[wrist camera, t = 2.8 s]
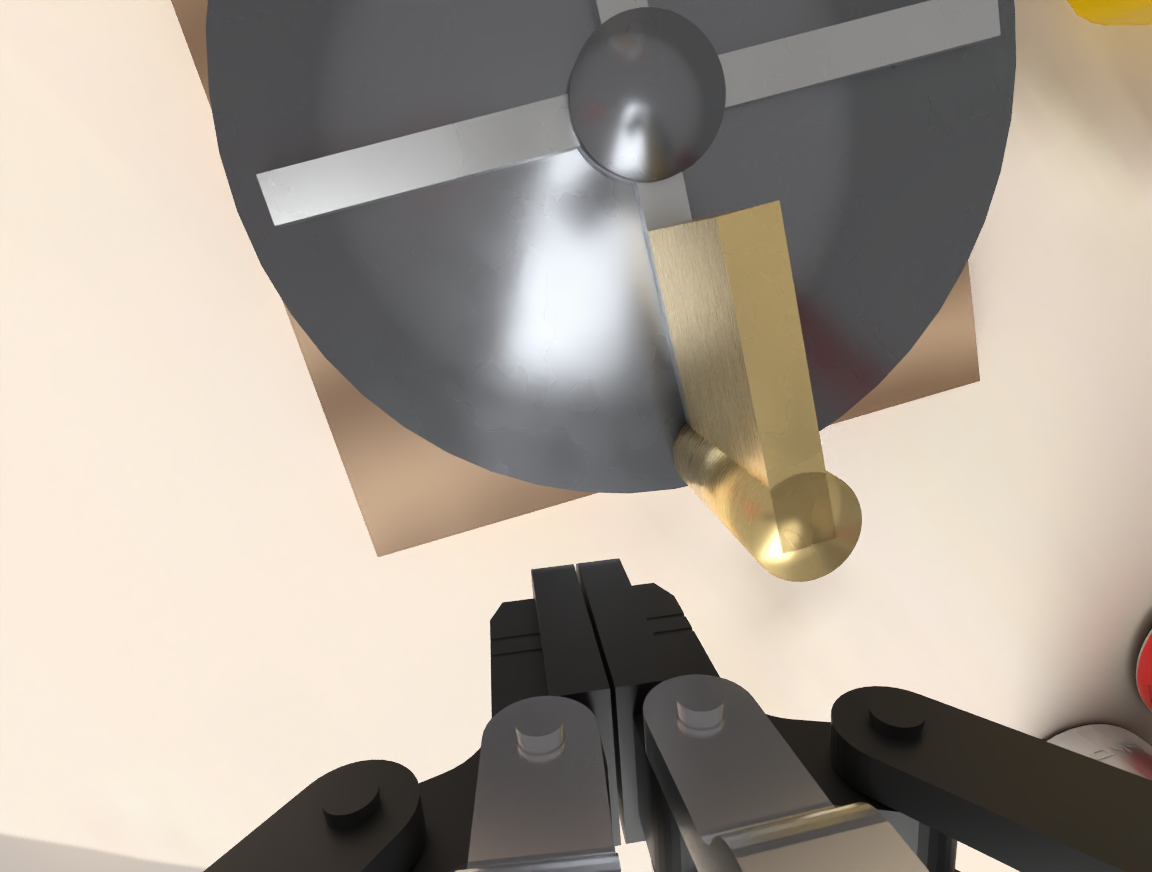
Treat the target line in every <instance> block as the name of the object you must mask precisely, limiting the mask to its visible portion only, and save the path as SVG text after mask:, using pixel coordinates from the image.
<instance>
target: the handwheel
mask: <svg viewBox="0 0 1152 872" xmlns="http://www.w3.org/2000/svg"><path fill="white" fill-rule="evenodd" d="M206 47H207V67H208V87H209V96H210V102H211V107H212V113H213V119H214V124H215V130H216V136H217V141H218V147H219V153H220V156H221V160H222V163H223V166H224V169H225V173H226V176H227V179H228V182H229V186H230V189H231V192H232V195H233V199H234V202H235V205H236V208H237V212H238V214H239V216H240V218H241V220H242V223H243V225H244V227H245V229H246V232H247V234H248V236H249V238H250V241H251V243H252V245H253V247H254V250H255V252H256V254H257V256H258V259H259V261H260V263H261V265H262V267H263V269H264V270H265V272H266V274H267V275H268V277H269V278H270V280H271V282H272V283H273V285H274V287H275V288H276V290H277V292H278V293H279V295H280V297H281V298H282V300H283V302H284V303H285V305H286V307H287V308H288V310H289V312H290V313H291V315H292V316H293V317H294V319H295V320H296V321H297V322H298V324H299V325H300V326H301V328H302V329H303V330H304V331H305V333H306V334H307V335H308V336H309V338H310V339H311V340H312V342H313V343H314V344H315V345H316V347H317V348H318V349H319V351H320V352H321V353H322V354H323V356H324V357H325V358H326V359H327V360H328V361H329V362H330V363H331V364H332V365H333V366H334V367H335V368H336V369H337V370H338V371H339V372H340V373H341V374H342V375H343V376H344V377H345V378H346V379H347V380H348V381H349V382H350V383H351V384H352V385H353V386H354V387H355V388H356V389H357V390H358V391H359V392H360V393H361V394H362V395H363V396H365V397H366V398H367V399H368V400H370V401H371V402H372V403H374V404H375V405H376V406H377V407H379V408H380V409H381V410H383V411H384V412H385V413H386V414H388V415H389V416H390V417H392V418H393V419H394V420H396V421H397V422H398V423H399V424H401V425H402V426H403V427H405V428H407V429H408V430H410V431H412V432H413V433H415V434H417V435H418V436H420V437H422V438H423V439H425V440H427V441H429V442H430V443H432V444H434V445H435V446H437V447H439V448H440V449H442V450H444V451H445V452H447V453H450V454H452V455H454V456H456V457H459V458H461V459H463V460H466V461H468V462H470V463H473V464H475V465H477V466H480V467H482V468H484V469H487V470H489V471H491V472H494V473H498V474H501V475H505V476H508V477H512V478H515V479H519V480H522V481H526V482H529V483H533V484H536V485H541V486H548V487H554V488H561V489H567V490H574V491H580V492H601V493H637V492H647V491H657V490H667V489H676V488H680V487H685V486H689V487H690V488H691V489H692V490H693V491H694V492H695V493H696V495H697V496H698V497H699V498H700V499H701V500H702V501H703V502H704V503H705V504H706V505H707V507H708V508H709V509H710V510H711V511H712V512H713V513H714V514H715V515H716V516H717V518H718V519H719V520H720V521H721V522H722V523H723V524H724V525H725V526H726V527H727V528H728V530H729V531H730V532H731V533H732V534H733V535H734V536H735V537H736V538H737V539H738V540H739V542H740V543H741V544H742V545H743V546H744V547H745V548H746V549H747V550H748V551H749V552H750V554H751V555H752V556H753V557H754V558H755V559H756V560H757V561H758V562H759V563H760V564H761V566H762V567H763V568H764V569H765V570H767V571H768V572H769V573H771V574H772V575H774V576H776V577H778V578H780V579H784V580H787V581H794V582H803V581H810V580H814V579H817V578H820V577H823V576H825V575H827V574H829V573H830V572H832V571H833V570H835V569H836V568H837V567H839V566H840V565H841V564H842V563H843V562H844V561H845V560H846V559H847V558H848V556H849V555H850V554H851V552H852V551H853V549H854V547H855V545H856V543H857V541H858V538H859V535H860V531H861V525H862V515H861V508H860V504H859V502H858V499H857V497H856V495H855V494H854V492H853V491H852V489H851V488H850V487H849V486H848V485H847V484H846V483H845V482H843V481H842V480H841V479H839V478H837V477H836V476H834V475H832V474H831V473H829V472H828V471H826V470H825V465H824V459H823V453H822V447H821V441H820V435H819V431H821V430H822V429H824V428H825V427H827V426H828V425H830V424H831V423H833V422H834V421H836V420H837V419H839V418H840V417H842V416H843V415H844V414H845V413H846V412H847V411H849V410H850V409H851V408H852V407H853V406H854V405H856V404H857V403H858V402H859V401H860V400H861V399H863V398H864V397H865V396H866V395H867V394H869V393H870V392H871V391H872V390H873V389H874V388H876V387H877V386H878V385H879V384H880V383H881V381H882V380H883V379H884V378H885V377H886V376H887V375H888V374H889V373H890V372H891V371H892V370H893V369H894V368H895V366H896V365H897V364H898V363H899V362H900V361H901V360H902V359H903V358H904V357H905V356H906V355H907V354H908V352H909V351H910V350H911V349H912V347H913V346H914V345H915V343H916V342H917V341H918V339H919V338H920V337H921V335H922V334H923V333H924V331H925V330H926V329H927V327H928V326H929V324H930V323H931V322H932V320H933V319H934V318H935V316H936V315H937V314H938V312H939V311H940V309H941V307H942V306H943V304H944V302H945V300H946V299H947V297H948V295H949V293H950V292H951V290H952V288H953V287H954V285H955V283H956V281H957V280H958V278H959V276H960V274H961V273H962V271H963V269H964V267H965V265H966V263H967V261H968V258H969V256H970V254H971V251H972V249H973V247H974V245H975V242H976V240H977V238H978V236H979V233H980V231H981V229H982V227H983V224H984V222H985V219H986V216H987V213H988V210H989V206H990V203H991V200H992V197H993V194H994V191H995V187H996V184H997V181H998V178H999V175H1000V172H1001V167H1002V162H1003V157H1004V152H1005V147H1006V142H1007V137H1008V132H1009V127H1010V122H1011V114H1012V103H1013V92H1014V81H1015V69H1016V43H1015V7H1014V0H208V4H207V17H206Z"/></svg>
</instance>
